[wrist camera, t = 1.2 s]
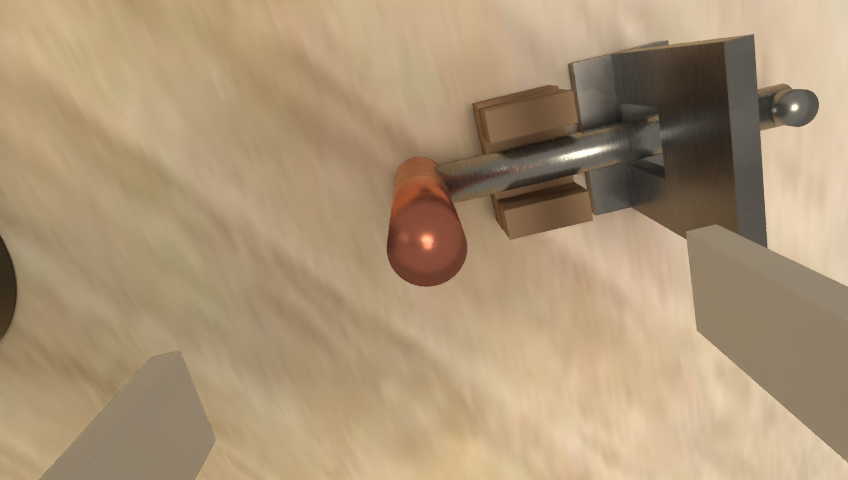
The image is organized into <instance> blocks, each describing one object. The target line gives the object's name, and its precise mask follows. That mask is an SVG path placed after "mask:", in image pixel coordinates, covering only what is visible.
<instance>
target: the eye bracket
mask: <svg viewBox="0 0 848 480" xmlns="http://www.w3.org/2000/svg"><path fill="white" fill-rule="evenodd" d="M568 65H569V71H570V78H571V84H572V90H573V94H574V100H575V107H576V113H577V120H578V129H579V132H582V131H586V130H590V129H594V128H599V127H603V126H607V125H611V124H615V123H619V122H624V121H628V120H632V119H636V118H640V117H645V116H649V115H653V114H657V113H658V117H659V125H660V134H661V143H662V152H663V154H660V155H656V156H652V157H647V158H643V159H639V160H635V161H630V162H626V163H622V164H618V165H613V166H609V167H605V168H601V169H596V170H592V171H588V172H585V175H586V181H587V188H588V191H589V198H590V204H591V211H592V213H593V214H595V215H599V214H604V213H608V212H612V211H617V210H621V209H625V208H630V207H632V208H633V209H635V210H637V211H639V212H640V213H642V214H644V215H646V216H647V217H649V218H651V219H652V220H654V221H656V222H658V223H659V224H661V225H663V226H664V227H666V228H668V229H670V230H671V231H673V232H675V233H676V234H678V235H680V236H682V237H683V238H685V239H687V237H686V231H690V230H694V229H699V228H703V227H707V226H711V225H716V224H717V225H719V226H721V227H723V228H725V229H728V230H730V231H732V232H734V233H736V234H738V235H740V236H742V237H744V238H746V239H749V240H751V241H753V242H755V243H757V244H759V245H761V246H763V247H765V248H767V233H766V218H765V202H764V186H763V170H762V155H761V139H760V123H759V107H758V92H757V76H756V60H755V44H754V34H752V35H744V36H736V37H728V38H720V39H712V40H704V41H696V42H688V43H680V44H672V45H669V44H668V40H667V41H661V42H657V43H652V44H648V45H644V46H640V47H636V48H632V49H628V50H624V51H620V52H616V53H611V54H607V55H603V56H599V57H595V58H591V59H587V60H583V61H579V62H575V63H570V64H568Z"/></svg>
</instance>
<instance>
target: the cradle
mask: <svg viewBox="0 0 848 480" xmlns="http://www.w3.org/2000/svg"><path fill="white" fill-rule="evenodd" d="M473 109H474V113H475V118H476V123H477V128H478V133H479V138H480V143H481V148H482V153H483V155H485V154H490V153H494V152H498V151H502V150H506V149H511V148H515V147H519V146H523V145H527V144H531V143H536V142H540V141H544V140H548V139H552V138H557V137H561V136H565V135H566V130H565V126H566V125H571V124H575V123H578V120H577V113H576V107H575V100H574V94H573V90H562V89H559V87H558V86H551V85H547V86H543V87H539V88H535V89H531V90H527V91H523V92H518V93H514V94H510V95H506V96H502V97H498V98H494V99H490V100H485V101H481V102H477V103H473ZM491 196H492V201H493V206H494V211H495V216H496V220H497V222H498V223H499V225H500V227H501V228H502V230H503V229H504V231H505V233H506V234H507V236H508V237H509V239H510V240H511V239H515V238H519V237H523V236H528V235H532V234H536V233H541V232H545V231H549V230H554V229H558V228H562V227H567V226H571V225H575V224H579V223H584V222H588V221H592V220H593V217H592V211H591V204H590V198H589V191H588V190H586V189H584V188H583V187H581V186H580V185H578V184H576V183H575V182H574V180H573V175H571V176H567V177H563V178H558V179H554V180H550V181H546V182H541V183H537V184H533V185H529V186H524V187H520V188H516V189H512V190H507V191H503V192H499V193H495V194H491Z"/></svg>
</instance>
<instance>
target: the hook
mask: <svg viewBox="0 0 848 480" xmlns="http://www.w3.org/2000/svg"><path fill="white" fill-rule="evenodd" d="M757 92H758V107H759V123H760V131H762V130H766V129H770V128H775V127H779V126H783V125H786V126H794V127H800V126H804V125H806V124H808V123H809V122H811V121H812V120H813V119H814V117H815V116H816V114H817V112H818V108H819V102H818V98H817V96H816V95H815V94H814V93H813V92H812V91H809V90H803V89H792V88H791V87H790V86H788V85H786V84H779V85H775V86H770V87H766V88H762V89H758V90H757ZM660 154H663V152H662V143H661V134H660V125H659V117H658V113H657V114H653V115H649V116H645V117H640V118H636V119H632V120H628V121H624V122H619V123H615V124H611V125H607V126H603V127H599V128H594V129H590V130H586V131H582V132H578V133H573V134H569V135H565V136H561V137H557V138H552V139H548V140H544V141H540V142H536V143H531V144H527V145H523V146H519V147H515V148H511V149H506V150H502V151H498V152H494V153H490V154H485V155H481V156H477V157H473V158H469V159H464V160H460V161H456V162H452V163H448V164H443V165H439V166H438V165H437V164H436V163H435V162H433V161H432V160H430V159H427V158H423V157H416V158H412V159H409V160H407V161H406V162H404V163H403V164H402V165H401V166H400V168H399V169H398V171H397V174H396V178H395V186H394V193H393V201H392V209H391V217H390V225H389V233H388V241H387V255H388V259H389V262H390V264H391V266H392V268H393V270H394V271H395V272H396V273H397V274H398V275H399V276H400V277H401V278H402V279H404V280H405V281H407V282H409V283H411V284H414V285H418V286H425V287H427V286H436V285H439V284H442V283H444V282H446V281H448V280H450V279H451V278H452V277H454V276H455V275H456V274H457V273H458V272H459V270H460V269H461V267H462V266H463V264H464V261H465V258H466V254H467V242H466V237H465V234H464V231H463V229H462V226H461V223H460V220H459V217H458V215H457V212H456V209H455V206H454V204H453V203H456V202H461V201H465V200H469V199H473V198H478V197H482V196H486V195H490V194H495V193H499V192H503V191H507V190H512V189H516V188H520V187H524V186H529V185H533V184H537V183H541V182H546V181H550V180H554V179H558V178H563V177H567V176H571V175H575V174H579V173H584V172H588V171H592V170H596V169H601V168H605V167H609V166H613V165H618V164H622V163H626V162H630V161H635V160H639V159H643V158H647V157H652V156H656V155H660Z"/></svg>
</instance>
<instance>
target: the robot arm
mask: <svg viewBox="0 0 848 480" xmlns="http://www.w3.org/2000/svg"><path fill="white" fill-rule="evenodd" d="M686 237H687V246H688V255H689V264H690V273H691V282H692V291H693V300H694V309H695V318H696V327H697V331H698V332H699V333H701V334H702V335H703V336H704V337H705V338H706V339H707V340H709V341H710V342H711V343H712V344H713V345H714V346H715V347H717V348H718V349H719V350H720V351H721V352H722V353H723V354H725V355H726V356H727V357H728V358H729V359H730V360H731V361H732V362H734V363H735V364H736V365H737V366H738V367H739V368H740V369H742V370H743V371H744V372H745V373H746V374H747V375H748V376H750V377H751V378H752V379H753V380H754V381H755V382H756V383H758V384H759V385H760V386H761V387H762V388H763V389H764V390H766V391H767V392H768V393H769V394H770V395H771V396H772V397H774V398H775V399H776V400H777V401H778V402H779V403H780V404H782V405H783V406H784V407H785V408H786V409H787V410H788V411H790V412H791V413H792V414H793V415H794V416H795V417H796V418H798V419H799V420H800V421H801V422H802V423H803V424H804V425H806V426H807V427H808V428H809V429H810V430H811V431H812V432H814V433H815V434H816V435H817V436H818V437H819V438H820V439H822V440H823V441H824V442H825V443H826V444H827V445H828V446H830V447H831V448H832V449H833V450H834V451H835V452H836V453H838V454H839V455H840V456H841V457H842V458H843V459H844V460H846V461H847V462H848V287H847V286H845V285H843V284H841V283H839V282H837V281H835V280H832V279H830V278H828V277H826V276H824V275H822V274H820V273H818V272H816V271H814V270H811V269H809V268H807V267H805V266H803V265H801V264H799V263H797V262H795V261H793V260H790V259H788V258H786V257H784V256H782V255H780V254H778V253H776V252H774V251H772V250H769V249H767V248H765V247H763V246H761V245H759V244H757V243H755V242H753V241H751V240H749V239H746V238H744V237H742V236H740V235H738V234H736V233H734V232H732V231H730V230H728V229H725V228H723V227H721V226H719V225H717V224H716V225H711V226H707V227H703V228H699V229H694V230H690V231H686ZM14 304H15V280H14V274H13V270H12V266H11V262H10V260H9V257H8V254H7V252H6V250H5V247H4V245H3V243H2V241H1V240H0V339H1V337H2V336H3V334H4V333H5V331H6V329H7V327H8V325H9V323H10V320H11V317H12V314H13V310H14ZM215 441H216V439H215V436H214V434H213V431H212V429H211V426H210V424H209V422H208V419H207V417H206V414H205V412H204V409H203V407H202V404H201V402H200V399H199V397H198V394H197V392H196V389H195V387H194V384H193V382H192V379H191V377H190V375H189V372H188V370H187V367H186V365H185V362H184V360H183V357H182V355H181V352H180V351H176V352H171V353H167V354H163V355H159V356H154V357H151V358H150V359H149V360H148V361H147V363H146V364H145V365H144V366H143V367H142V368H141V369H140V370H139V371H138V372H137V373H136V374H135V376H134V377H133V378H132V379H131V380H130V381H129V382H128V383H127V384H126V385H125V386H124V388H123V389H122V390H121V391H120V392H119V393H118V394H117V395H116V396H115V397H114V398H113V400H112V401H111V402H110V403H109V404H108V405H107V406H106V407H105V408H104V409H103V410H102V412H101V413H100V414H99V415H98V416H97V417H96V418H95V419H94V420H93V421H92V422H91V424H90V425H89V426H88V427H87V428H86V429H85V430H84V431H83V432H82V433H81V434H80V436H79V437H78V438H77V439H76V440H75V441H74V442H73V443H72V444H71V445H70V446H69V448H68V449H67V450H66V451H65V452H64V453H63V454H62V455H61V456H60V457H59V458H58V460H57V461H56V462H55V463H54V464H53V465H52V466H51V467H50V468H49V469H48V470H47V472H46V473H45V474H44V475H43V476H42V477H41V478H40V479H39V480H195V479H196V477H197V475H198V473H199V471H200V469H201V467H202V465H203V463H204V462H205V460H206V458H207V456H208V454H209V452H210V450H211V448H212V446H213V445H214V443H215Z"/></svg>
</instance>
